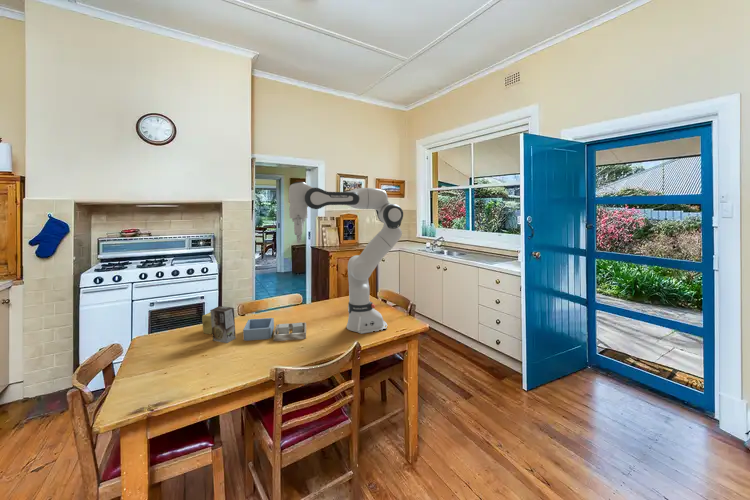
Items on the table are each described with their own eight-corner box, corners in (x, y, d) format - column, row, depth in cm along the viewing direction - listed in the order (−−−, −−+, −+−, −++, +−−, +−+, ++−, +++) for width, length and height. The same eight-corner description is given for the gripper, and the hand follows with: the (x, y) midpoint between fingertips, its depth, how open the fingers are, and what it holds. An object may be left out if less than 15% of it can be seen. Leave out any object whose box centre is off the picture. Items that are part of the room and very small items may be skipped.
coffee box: (236, 338, 162) (234, 307, 159) (226, 343, 156) (224, 311, 153) (222, 335, 165) (220, 305, 162) (212, 340, 159) (209, 309, 156)
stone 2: (302, 331, 171) (301, 322, 170) (303, 334, 166) (302, 325, 165) (292, 332, 169) (292, 323, 168) (293, 336, 165) (292, 327, 164)
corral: (306, 327, 176) (306, 322, 175) (306, 338, 161) (305, 333, 161) (276, 329, 173) (276, 324, 172) (273, 341, 158) (273, 335, 158)
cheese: (220, 335, 165) (218, 317, 164) (201, 333, 167) (200, 315, 166) (232, 327, 175) (231, 310, 174) (215, 326, 177) (214, 308, 176)
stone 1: (289, 332, 169) (288, 323, 168) (288, 336, 164) (288, 327, 164) (279, 333, 168) (278, 324, 168) (278, 337, 163) (278, 327, 163)
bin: (274, 327, 176) (273, 317, 175) (270, 338, 161) (270, 328, 160) (249, 329, 173) (248, 319, 172) (243, 340, 159) (242, 330, 158)
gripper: (304, 215, 152) (305, 244, 154) (305, 214, 172) (305, 239, 174) (290, 215, 151) (291, 244, 153) (293, 214, 170) (293, 239, 172)
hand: (299, 242), depth 163 cm, fingers open, 8 cm apart
